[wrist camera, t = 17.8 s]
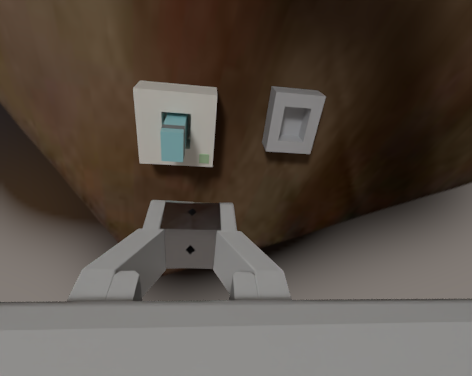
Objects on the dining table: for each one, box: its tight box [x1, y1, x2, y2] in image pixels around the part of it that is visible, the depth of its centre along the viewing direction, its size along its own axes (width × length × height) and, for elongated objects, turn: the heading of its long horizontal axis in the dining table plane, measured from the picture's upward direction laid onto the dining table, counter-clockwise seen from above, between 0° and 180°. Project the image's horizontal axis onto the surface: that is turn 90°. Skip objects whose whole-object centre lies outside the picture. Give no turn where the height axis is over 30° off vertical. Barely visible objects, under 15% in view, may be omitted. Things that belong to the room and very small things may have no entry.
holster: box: [262, 86, 326, 154], centre depth 47 cm, size 10×8×4 cm
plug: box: [160, 112, 188, 162], centre depth 42 cm, size 4×3×10 cm
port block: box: [133, 81, 217, 167], centre depth 45 cm, size 12×12×5 cm
